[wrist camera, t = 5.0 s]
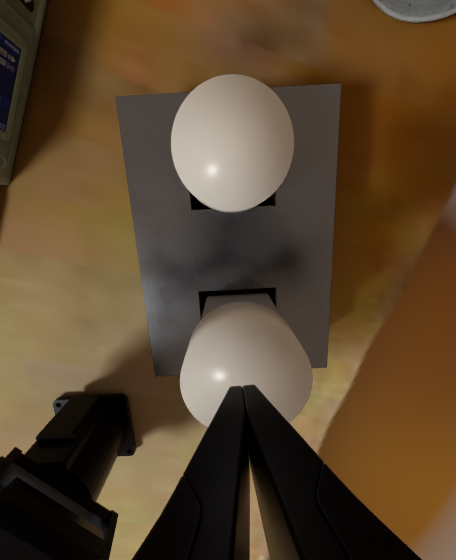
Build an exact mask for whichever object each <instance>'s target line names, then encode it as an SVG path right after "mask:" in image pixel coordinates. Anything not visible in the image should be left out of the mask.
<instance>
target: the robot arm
mask: <svg viewBox="0 0 456 560" xmlns="http://www.w3.org/2000/svg"><path fill="white" fill-rule="evenodd" d="M121 400H122V401H121ZM53 408H54V411H55V416H54V417H53V418H52V420H51V421H50V422H49V423H48V424H47V425H46V426H45V427H44V429H43V430H42V431H41V432H40V433H39V434H38V435H37V437H36V440H37V441H36V442H35V443H34V444H33V445H32V447H31V448H30V449H29V450H28V451H27V452H26V453H25V455H24V454H22V453H21V452H22V451H21V450H20V449H18V448H17V447H15V448H14V449H13V450H12V451H11V452H10V453H9V454H8V455H7V456H6V457H3V456H2V457H0V560H109V556H110V551H111V547H112V542H113V537H114V533H115V528H116V523H117V518H118V514H117V513H116V512H114V511H113V510H111V511H110V510H108V509H107V508H105V507H103V506H102V505H100V504H99V503H97V502H96V500H97V498H98V496H99V494H100V492H101V490H102V488H103V486H104V483H105V481H106V479H107V477H108V475H109V473H110V471H111V468H112V466H113V464H114V462H115V460H116V458H117V456H131V455H133V454H134V453H135V451H136V443H135V437H134V432H133V426H132V420H131V415H130V409H129V404H128V398H127V396H126V395H124V394H110V395H90V396H71V397H59V398H57V399H56V400H55V401H54V402H53ZM130 449H131V450H130ZM248 451H249V452H248ZM249 460H250V465H249ZM250 466H251V472H252V477H253V481H254V486H255V491H256V495H257V500H258V505H259V509H260V514H261V519H262V523H263V528H264V533H265V537H266V542H267V547H268V551H269V556H270V560H422V559H421V558H420V557H418V556H417V555H416V554H415V553H414V552H413V551H412V550H411V549H410V548H409V547H408V546H407V545H406V544H405V543H404V542H403V541H401V540H400V539H399V538H398V537H397V536H396V535H395V534H394V533H393V532H392V531H391V530H390V529H389V528H388V527H387V526H386V525H384V524H383V523H382V522H381V521H380V520H379V519H378V518H377V517H376V516H375V515H374V514H373V513H372V512H371V511H370V510H369V509H368V508H367V507H366V506H365V505H364V504H363V503H362V502H361V501H360V500H359V499H358V498H357V497H356V496H355V495H354V494H353V493H352V492H351V491H350V490H349V489H348V488H347V487H346V486H345V485H344V483H342V481H341V480H340V479H339V478H338V477H337V476H336V475H335V474H334V473H333V472H332V470H331V469H330V468H329V467H328V466H327V465H326V464H324V462H323V460H322V459H321V458H320V457H319V456H318V455H317V454H316V453H315V451H314V450H313V449H312V448H311V447H310V446H309V445H308V444H307V443H306V441H305V440H304V439H303V438H302V437H301V436H300V435H299V434H298V432H297V431H296V430H295V429H294V428H293V427H292V426H291V425H290V423H289V422H288V421H287V420H286V419H285V418H284V417H283V416H282V415H281V413H280V412H279V411H278V410H277V409H276V408H275V407H274V406H273V404H272V403H271V402H270V401H269V400H268V399H267V398H266V397H265V396H264V394H263V393H262V392H261V391H260V390H259V389H258V388H257V387H256V386H255V385H244V386H243V389H242V386H231V387H229V389H228V391H227V393H226V395H225V397H224V398H223V400H222V402H221V404H220V406H219V408H218V410H217V412H216V413H215V415H214V417H213V419H212V421H211V423H210V425H209V427H208V429H207V430H206V432H205V434H204V436H203V438H202V440H201V442H200V444H199V445H198V447H197V449H196V451H195V453H194V455H193V457H192V459H191V460H190V462H189V464H188V466H187V468H186V470H185V472H184V474H183V476H182V477H181V479H180V481H179V483H178V485H177V487H176V488H175V490H174V492H173V494H172V496H171V497H170V499H169V501H168V503H167V504H166V506H165V508H164V510H163V512H162V513H161V515H160V517H159V518H158V520H157V521H156V523H155V524H154V526H153V528H152V529H151V531H150V532H149V534H148V536H147V537H146V539H145V540H144V542H143V543H142V545H141V546H140V548H139V549H138V551H137V552H136V554H135V555H134V557H133V558H132V560H250Z"/></svg>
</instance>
